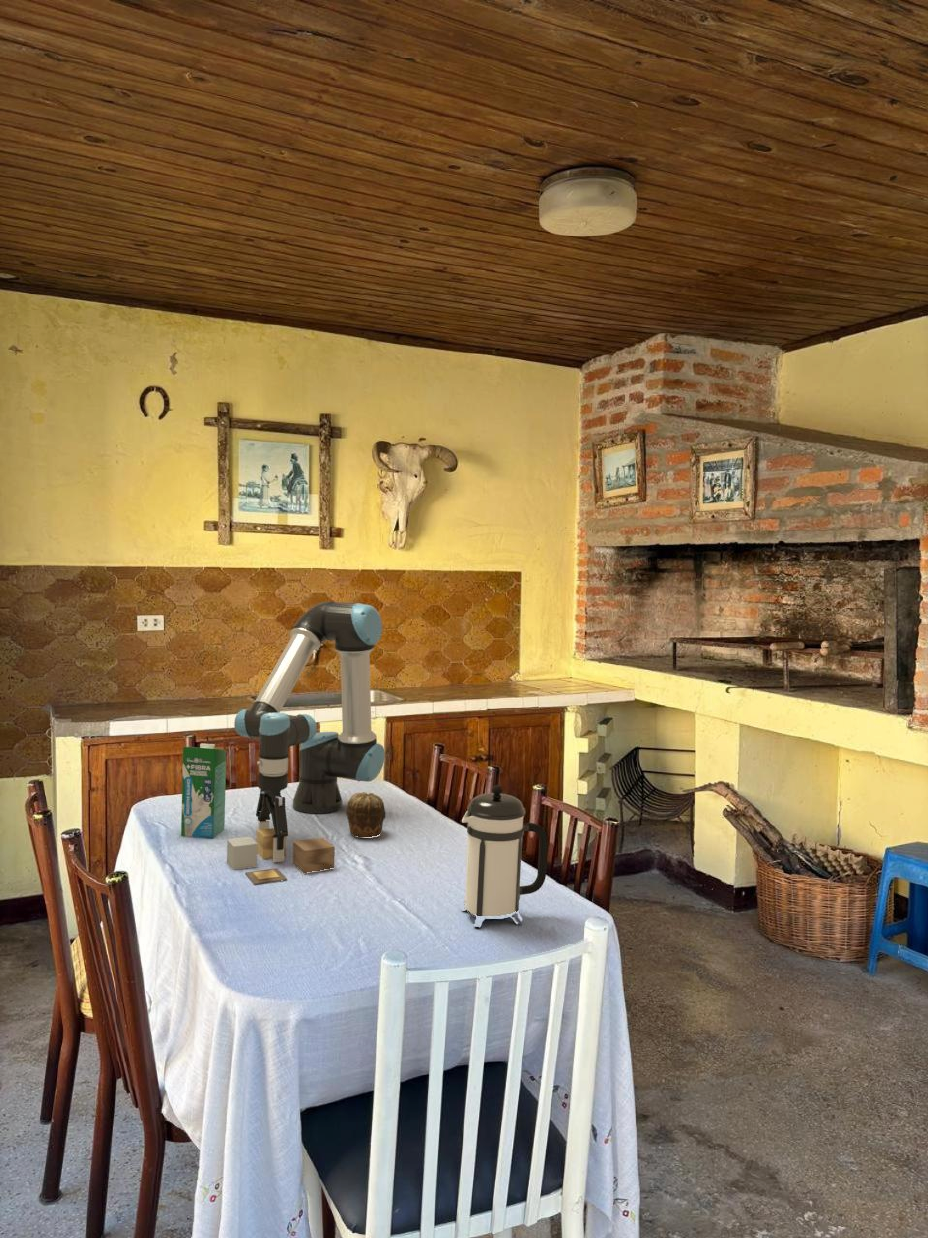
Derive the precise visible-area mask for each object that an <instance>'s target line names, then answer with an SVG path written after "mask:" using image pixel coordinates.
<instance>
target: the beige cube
mask: <svg viewBox="0 0 928 1238" xmlns="http://www.w3.org/2000/svg"><path fill="white" fill-rule="evenodd" d="M257 845H258V844H257V841H256V840H255V839H253V837H252V836H246V837H237V838H230V839H229V838H228V839H227V844H226V848H227V849H226V863H227V864H228V865H229V867H230V868H231V870H232V871H235V869H237V870H242V869H243V870H244V869H250V868H257V867H258V853H257Z"/></svg>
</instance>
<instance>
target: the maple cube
mask: <svg viewBox="0 0 928 1238" xmlns="http://www.w3.org/2000/svg"><path fill="white" fill-rule="evenodd" d="M281 832H282V831H281ZM273 835H275V832H274V827H271V828H270V827H269V829H261V830H258V829H257V830H256V843H257V844H258V845H257V855H259V857H260V858H261V859H262V860H267V859H266V858H268V859H273V841H274V838H273V837H272V836H273ZM286 847H287V836H285V848H284V857H286V851H287V848H286Z"/></svg>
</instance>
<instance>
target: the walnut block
mask: <svg viewBox="0 0 928 1238" xmlns="http://www.w3.org/2000/svg"><path fill="white" fill-rule="evenodd" d="M335 847H336V846H335V845H333V844H332V843H330V842H329V841H328V840H326V839H325V838H324V837H318V838H317V837H316V838H311V839H310V838H309V839H303V840H302V839H301V840H293V842H292V865H293V864H294V865H295V866H296V867H295V866H294V865H293V866H294V867H295V868H297V867H298V868H299V869H300V870H301V871H302V872H303V873H307V872H312V871H320V870H324V869H330V868H334V869H335V854H336V852H335V850H336V849H335ZM298 868H297V869H298ZM299 869H298V870H299ZM300 870H299V871H300ZM301 871H300V872H301ZM302 872H301V873H302ZM303 873H302V874H303Z"/></svg>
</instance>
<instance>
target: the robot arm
mask: <svg viewBox="0 0 928 1238" xmlns="http://www.w3.org/2000/svg"><path fill="white" fill-rule="evenodd" d="M382 632H383V623H382V618H381V615H380V613H379V611H378V610H377V609H376V608H375V607H374V606H372V605H369V604H363V603H361V602H360V603H358V602H340V601H339V602H337V601H336V602H335V601H324V602H320V603H317V604H316V605H314V606H313V607H311V608H310V609H308V610H306V611H305V613H303V614H302V615H301V616H300V618H298V620H297V621H296V622H295V624H294V625H293V627H292V629H291V631H290V633H289V635H290V636H289V637H290V639H289V641H288V643H287V644H286V646H285V647H284V650H283V651H282V653H281V654H280V657H279V658H278V660H277V662H276V664H275V666H274V667H273V669H272V671H271V673H270V674H269V676H268V678H267V679H266V681H265V683H264V685H263V686H262V688H261V690H260V692H259V693H258V696H257V697H256V699H255V701H254V703H252V705H251V707H250V708H246V709H244V708H243V709H241V710H240V711H238V712H237V713H236V715H235V717H234V722H233V725H234V730H235V732H236V733H237V734H238V735H239V736H241V737H245V738H249V739H257V740H259V749H258V750H259V752H258V761H256V765H257V766H258V772H259V774H258V776H257V777H258V778H257V787H258V789H259V790H260V791H259V795H258V796H259V797H258V802H257V806H256V807H257V808H256V812H255V816H256V818H257V820H258V827H257V830H261V829H270V820H272V826H273V828H274V832H275V835H273V836H272V837H273V838H274V841H273V858H272V862H273V863H280V862H285V856H284V848H285V836H286V837H288V836H289V830H288V829H289V828H288V820H287V812H286V811H287V809H286V797H285V796H282V795H281V792H282V791H283V790H286V789H287V788H288V785H289V784H288V781H289V779H288V778H289V775H288V771H289V761H290V760H289V758H290V757H289V751H290V750H289V749H290V747H292V746H296V745H299V746H300V747H299V779H298V781H299V782H298V785H297V787H296V791H295V793H294V796H293V799H292V809H294V811H298V812H300V813H307V814H329V813H328V812H330V813H334V812H333V811H335V812H337V811H336V810H338V809H340V808H341V807H342V808H343V798H342V795H341V791H340V788H339V784H338V779H339V778H341V779H346V780H350V781H352V780H353V781H356V782H368V783H369V782H372V781H374V780H375V779H376V778H377V777H378V776H379V775H380V773H381V770H382V769H383V767H384V763H385V757H386V755H385V754H386V752H385V751H386V749H385V748H384V746H383V745H382V744H381V743H378V742H377V734H376V733H375V732H374V731H372V704H371V702H372V701H371V699H372V698H371V695H372V694H371V669H370V668H371V667H370V666H371V665H370V663H371V661H370V658H371V657H370V654H371V653H372V651H374V649H375V645H376V644H378V642H379V641H380V639H381V637H382V636H381V635H382ZM327 641H328V642H329V641H331V642H334V650H335V651H336V652H337V653H338V654H339V655H340V679H341V680H340V682H341V713H342V717H341V718H342V719H341V720H342V732H341V733H339V732H336V731H322V732H321V731H319V732H317V729H318V728H317V727H318V726H317V723H316V720H315V719H314V718H313V716H311V715H310V714H307V713H306V714H305V713H304V714H301V713H299V714H296V715H290V714H287V713H285V712H281V711H282V708H283V707H284V705H285V703H286V702H287V700H288V698H289V696H290V694H291V693H292V691H293V689H294V687H295V685H296V683H297V682H298V680H299V678H300V676H301V675H302V672H303V671H304V669H305V667H306V665H307V663H308V662H309V660H310V658H311V657H312V655H313V653H314V651H317V650H319V649H320V647H321V645H322V644H323V643H324V642H327ZM342 808H341V809H342ZM341 809H340V810H341ZM338 811H339V810H338ZM270 816H271V817H270ZM281 831H282V832H281Z"/></svg>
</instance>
